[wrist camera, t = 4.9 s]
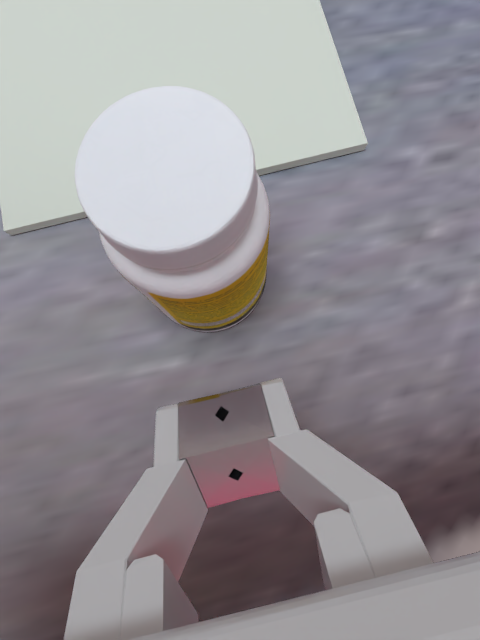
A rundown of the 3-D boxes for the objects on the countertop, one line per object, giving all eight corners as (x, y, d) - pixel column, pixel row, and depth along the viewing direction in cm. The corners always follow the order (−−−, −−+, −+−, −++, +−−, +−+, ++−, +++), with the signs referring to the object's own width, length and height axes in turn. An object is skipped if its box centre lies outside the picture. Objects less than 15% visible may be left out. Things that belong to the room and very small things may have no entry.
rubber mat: (10, 235, 17) (3, 231, 17) (-21, 13, 20) (-28, 3, 19) (364, 150, 18) (367, 142, 17) (293, -61, 20) (294, -73, 19)
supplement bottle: (287, 264, 17) (319, 138, 8) (222, 356, 16) (188, 316, 8) (195, 204, 17) (143, 34, 9) (129, 291, 17) (9, 191, 9)
